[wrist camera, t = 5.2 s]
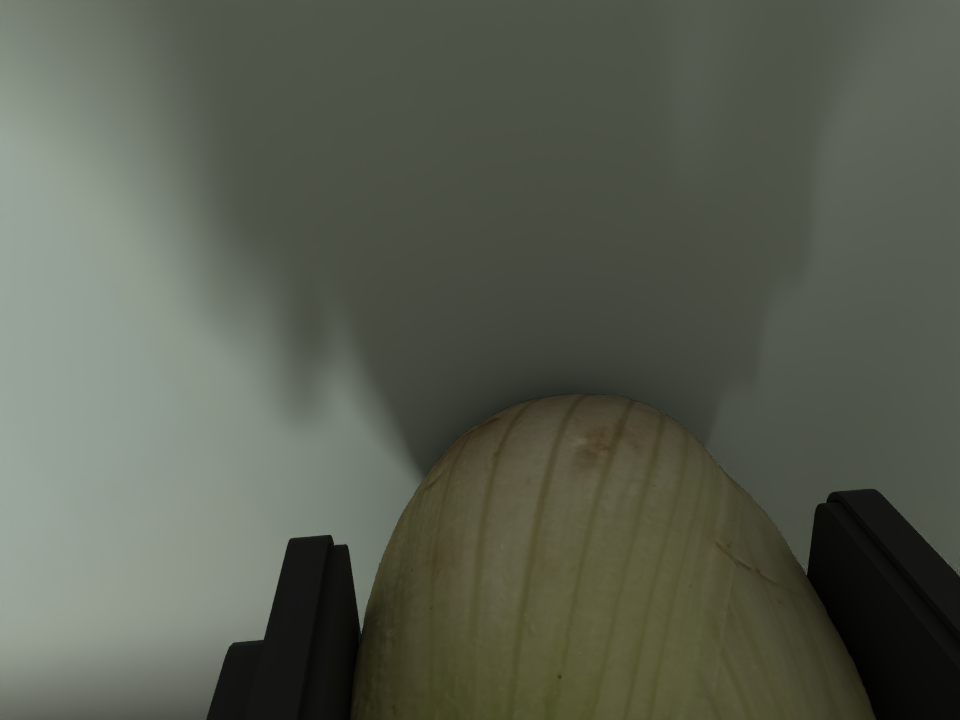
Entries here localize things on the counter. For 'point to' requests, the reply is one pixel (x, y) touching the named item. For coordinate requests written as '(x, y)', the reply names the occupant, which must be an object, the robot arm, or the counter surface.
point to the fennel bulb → (594, 584)
